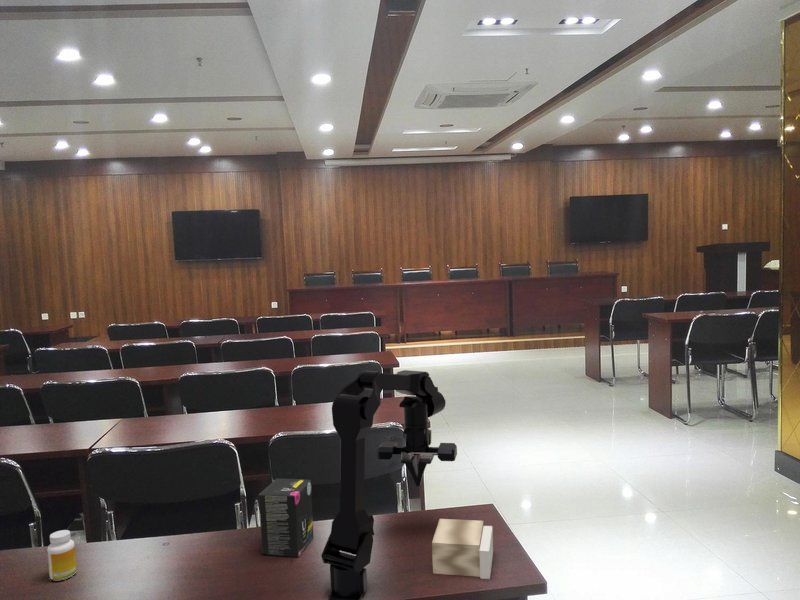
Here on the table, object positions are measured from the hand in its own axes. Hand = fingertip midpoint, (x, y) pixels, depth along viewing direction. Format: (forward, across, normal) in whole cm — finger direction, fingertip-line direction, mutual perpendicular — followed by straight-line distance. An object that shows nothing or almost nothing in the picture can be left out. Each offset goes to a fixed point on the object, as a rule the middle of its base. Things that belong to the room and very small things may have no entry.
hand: (418, 485), depth 150 cm
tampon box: (+12, +30, +10) cm, 34 cm away
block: (+12, -11, +12) cm, 20 cm away
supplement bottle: (+12, +75, +30) cm, 82 cm away
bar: (+12, -17, +13) cm, 25 cm away
